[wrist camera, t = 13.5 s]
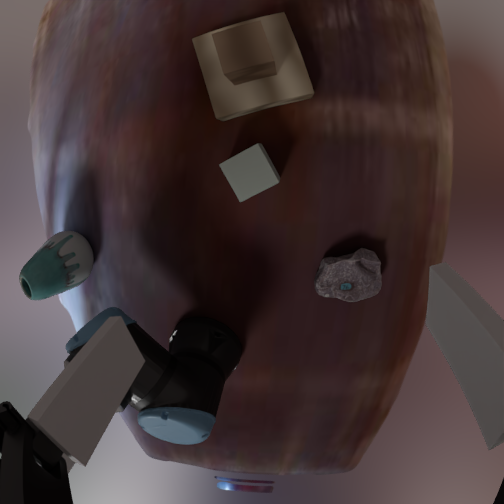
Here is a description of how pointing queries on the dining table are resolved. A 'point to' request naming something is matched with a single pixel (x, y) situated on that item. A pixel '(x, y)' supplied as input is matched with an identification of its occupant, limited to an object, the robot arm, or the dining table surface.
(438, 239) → the dining table surface
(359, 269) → the rock
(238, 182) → the grey green cube
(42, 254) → the vase
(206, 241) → the dining table surface
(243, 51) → the walnut block
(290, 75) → the plinth
